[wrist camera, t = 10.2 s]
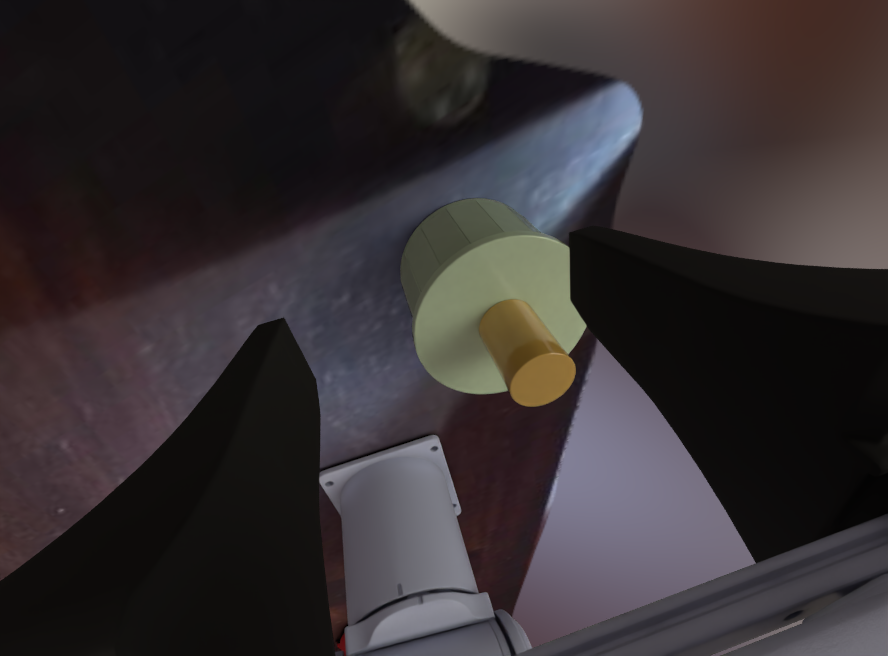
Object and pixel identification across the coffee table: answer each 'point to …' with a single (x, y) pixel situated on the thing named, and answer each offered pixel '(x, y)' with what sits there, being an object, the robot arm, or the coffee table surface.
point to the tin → (452, 238)
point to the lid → (501, 318)
